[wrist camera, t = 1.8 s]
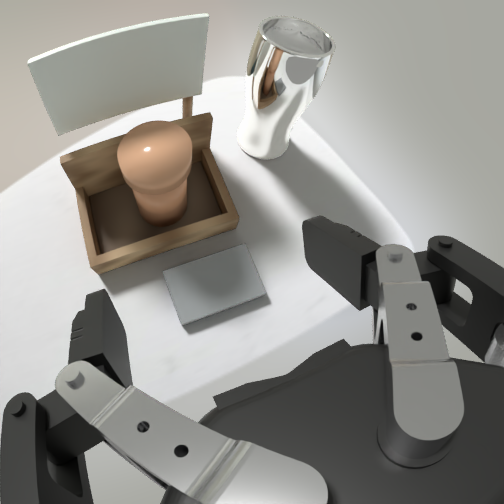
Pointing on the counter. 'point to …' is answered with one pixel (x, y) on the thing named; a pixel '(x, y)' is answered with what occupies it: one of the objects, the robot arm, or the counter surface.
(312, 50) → the beer glass
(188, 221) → the open wooden box
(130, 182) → the peach mushroom shaped stopper
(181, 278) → the tile
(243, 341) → the counter surface
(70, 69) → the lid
